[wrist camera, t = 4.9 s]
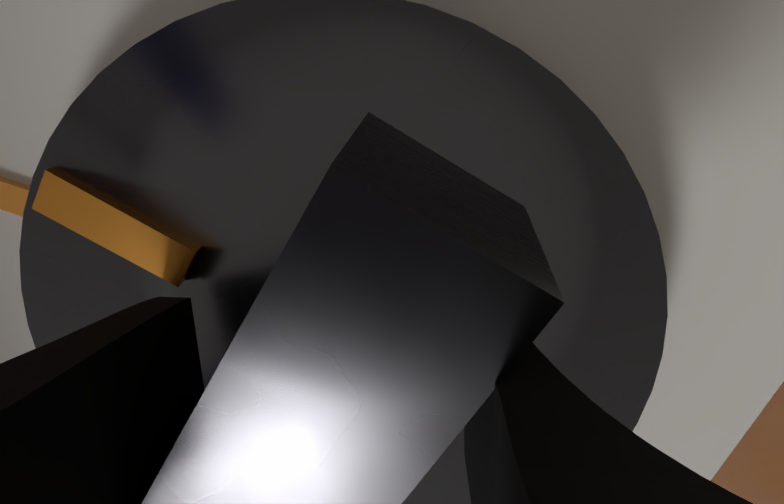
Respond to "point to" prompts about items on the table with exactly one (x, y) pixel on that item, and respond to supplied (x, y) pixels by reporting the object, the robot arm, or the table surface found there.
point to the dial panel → (617, 114)
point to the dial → (346, 241)
